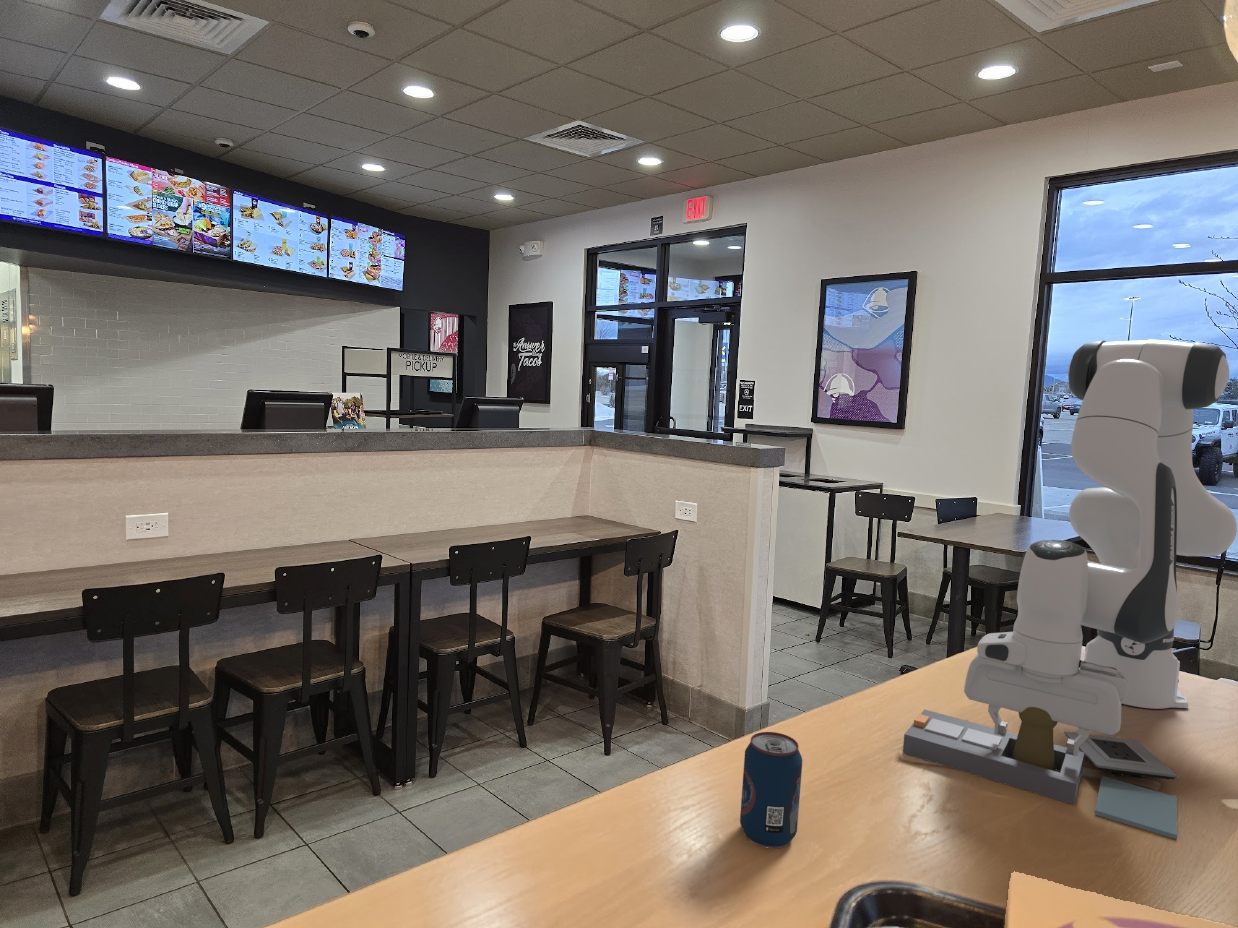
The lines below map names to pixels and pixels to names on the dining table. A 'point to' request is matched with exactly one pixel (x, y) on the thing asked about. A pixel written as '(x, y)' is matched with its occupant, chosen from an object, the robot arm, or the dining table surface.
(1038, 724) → the cork
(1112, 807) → the rubber mat
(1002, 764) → the grey slotted tray
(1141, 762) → the grey picture frame
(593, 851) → the dining table surface
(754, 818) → the soda can
